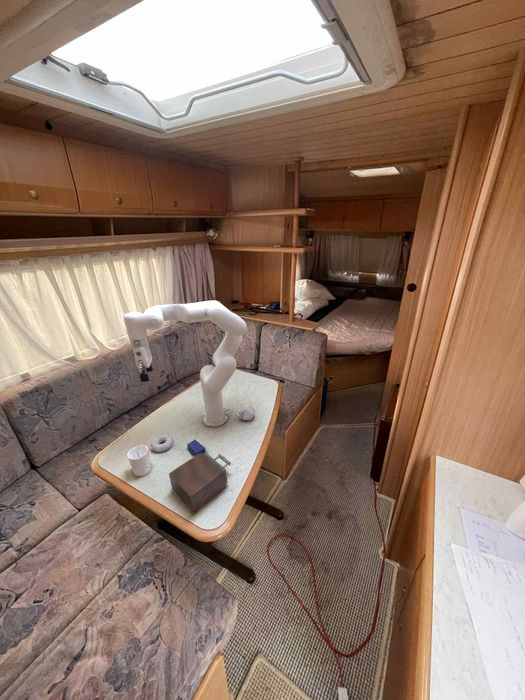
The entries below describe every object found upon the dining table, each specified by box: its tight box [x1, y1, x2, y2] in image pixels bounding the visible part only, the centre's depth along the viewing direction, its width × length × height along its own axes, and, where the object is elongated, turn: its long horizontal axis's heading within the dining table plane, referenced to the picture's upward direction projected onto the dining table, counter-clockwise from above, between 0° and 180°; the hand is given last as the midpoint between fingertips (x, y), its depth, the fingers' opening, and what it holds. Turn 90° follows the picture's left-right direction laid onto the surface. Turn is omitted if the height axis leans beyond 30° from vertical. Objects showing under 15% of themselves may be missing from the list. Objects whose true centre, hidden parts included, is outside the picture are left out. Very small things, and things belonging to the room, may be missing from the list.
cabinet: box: [168, 452, 226, 514], centre depth 105 cm, size 15×15×9 cm
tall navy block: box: [186, 439, 207, 457], centre depth 125 cm, size 8×4×3 cm, turn 46°
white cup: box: [126, 444, 152, 477], centre depth 115 cm, size 8×8×10 cm
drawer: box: [204, 451, 232, 485], centre depth 109 cm, size 18×14×7 cm
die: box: [237, 403, 256, 421], centre depth 145 cm, size 8×9×10 cm
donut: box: [150, 434, 174, 453], centre depth 129 cm, size 10×3×10 cm
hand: (147, 376), depth 124 cm, fingers open, 9 cm apart
